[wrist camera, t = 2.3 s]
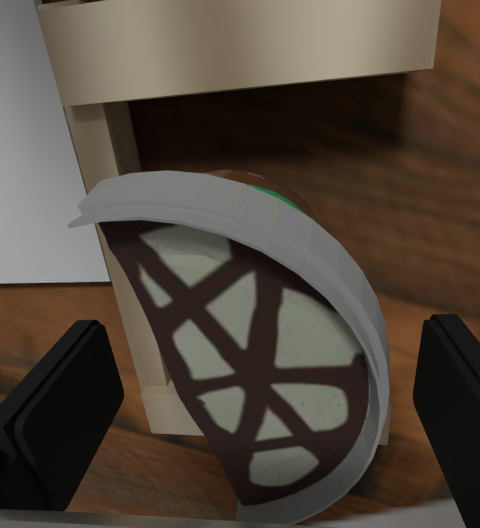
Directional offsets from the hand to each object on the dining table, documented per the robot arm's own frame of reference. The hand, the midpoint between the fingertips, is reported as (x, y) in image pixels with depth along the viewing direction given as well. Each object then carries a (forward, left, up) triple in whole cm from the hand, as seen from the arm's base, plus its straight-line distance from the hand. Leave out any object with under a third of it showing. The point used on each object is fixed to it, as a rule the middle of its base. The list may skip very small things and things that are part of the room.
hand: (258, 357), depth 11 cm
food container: (-1, 0, -9) cm, 9 cm away
